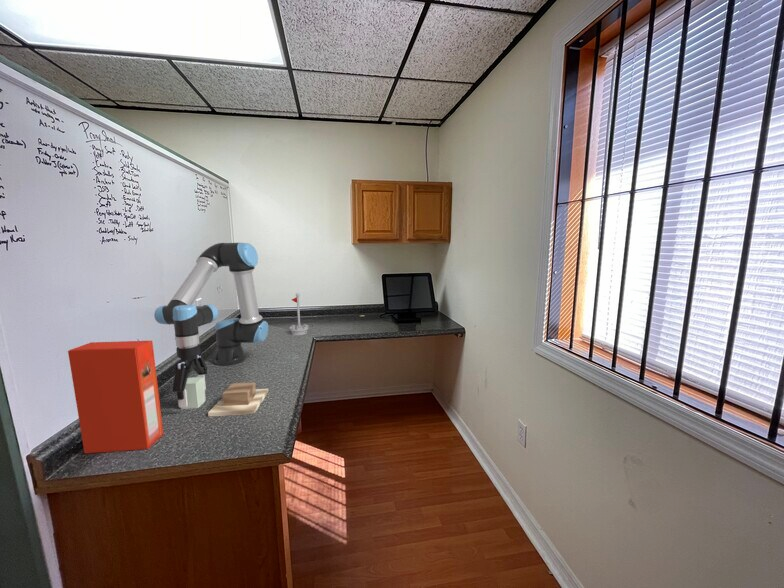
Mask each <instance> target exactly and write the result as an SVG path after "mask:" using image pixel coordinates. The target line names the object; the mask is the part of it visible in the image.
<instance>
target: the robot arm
mask: <svg viewBox="0 0 784 588" xmlns="http://www.w3.org/2000/svg"><path fill="white" fill-rule="evenodd" d="M258 260H259V255H258V252H257V250H256V248H255V246H253V244H251V243H248V242H218V243H214V244H213V245H211V246H209V247H208V248H206V249H204V251H203V252H201V254H200V255H199V256H198V257H197V258H196V260H195V266H194V267H193V268H192V270H191V272H190V273H189V274H188V276H187V277H186V278H185V279H184V281H183V282H182V284H181V285H180V287H179V288H178V289H177V291H176V292H175V294H174V295H173V296H172V298H171V299H170V300H169V302H168V303H167V305H161V306H159V307H156V309H155V311H154V315H153V316H154V319H155V321H156V322H157V323H158V324H161V325H173V327H174V339H175V346H176V348H175V351H176V357H177V358H179V359H180V360H181V361H180V363H179V362H178V363H175V371H174V372H175V373H174V379H173V384H172V385H173V386H172V389H171V390H172V392H175V393H176V394H177V403H178V408H181V407H187V406H188V403H187V393H186V389H185V386H186V382H187V379H188V378H189V375H190V373H191V372H192V370H194V371H195V372H196V374H197V375H196V377H204V388H205V391H206V389H207V388H206V377H205V376H206V375H207V374H208V367H207V365H206V363H205V360H204V358H203V354H202V351H201V345H200V343H201V341H200V336H199V335H200V333H199V332H200V331H199V327H202V326H205V325H207V324H211V323H213V322H214V321H215V320H217V319H218V316H219V311H218V309H217V307H216V306H215V305H212V304H204V305H194V304H193V303H194V302H195V301H196V299H197V297H198V296H199V294H200V293H201V291H202V290H203V288H204V287H205V286H206V284H207V282H208V280H210V278H211V276H212V275H213V273H215V272H217V270H219V268H222V267H228V270H229V273H232V275H233V279H234V283H235V284H234V285H235V289H236V295H237V302H238V305H239V311H240V318H239V317H231V318H225V319H221V320H219V321H217V322H216V323H215V335H216V336H215V337H216V338H215V339H216V352H215V356H214V364H215V365H217V366H231V365H235V364H238V363H242V362H243V361H245V360H246V353H245V351H244V349H243V346H242V343H243V344H245V343H246V344H247V343H249V344H250V343H251V344H256V343H257V344H258V343H259V344H260V343H263V342H264V341H265V340H266V339H267V337H268V334H269V324H268V322H267V321H266V320H264V318H263V316H262V315H261V314H260V312H259V306H258V302H257V295H256V287H255V282H254V276H253V275H254V274H253V271H254V270H256V268H255V267H256V266H257V265H258V263H259V262H258Z"/></svg>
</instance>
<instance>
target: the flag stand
mask: <svg viewBox="0 0 784 588" xmlns="http://www.w3.org/2000/svg"><path fill="white" fill-rule="evenodd" d="M300 296H301V294H300V293H298V292H296V293H295V297H294V298H292V299H291V301H292V302H294V303H297V304H296V309H297V311H296V313H297V325H295V324H291V326H289V330H290V331H291V335H293V336H303V335H305V334H308V330H309V324H305V323H304V324H303V325H302V323H301V314H300V313H301V312H300ZM305 332H306V333H305ZM294 333H295V334H294Z"/></svg>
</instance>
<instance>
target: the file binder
mask: <svg viewBox="0 0 784 588" xmlns="http://www.w3.org/2000/svg"><path fill="white" fill-rule="evenodd" d="M153 343H154V342H153V340H129V341H127V340H125V341H123V340H122V341H98V342H94V341H93V342H89V343H86V344H83V345H80V346H78V347H74V348H71V349H69V350H67V353H68V360H69V366H70V371H71V372H70V373H71V380H72V383H73V384H72V386H73V389H74V390H73V391H74V397H75V403H76V404H75V405H76V409H77V416H78V421H79V428H80V434H81V440H82V445H83V451H84V454H85V455H86V454H96V453H97V454H99V453H110V452H111V453H112V452H126V451H138V450H139V451H140V450H142V451H143V450H149V449H150V448H151V447H152V446H153V445H154V444H155V443H156V442H157V441H158V440H159V439H160V438H161V437H163V435H164V427H163V420H162V411H161V410H162V409H161V401H160V393H159V386H158V377H157V370H156V369H157V368H156V361H155V353H154V344H153Z"/></svg>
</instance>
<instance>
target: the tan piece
mask: <svg viewBox="0 0 784 588" xmlns="http://www.w3.org/2000/svg"><path fill="white" fill-rule="evenodd" d="M256 385H257V384H256V382H255V381H253V382H234V383H231V384H230V385H229V386H228V387H227V388H226V389H225V390H224V391H223V393H222V397H221V399H220V400H218V401H217V403H216V404H215V405H213V407H212V408H211V409H210V410H209V411H208V412H207V417H224V416H242V415H245V416H246V415H255V414H256V412H257V410H258V409H259V408H260V406H261V404H262V403H263V401H264V400H265V399H266V396H267V395H268V393H269V388H257V386H256Z"/></svg>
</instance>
